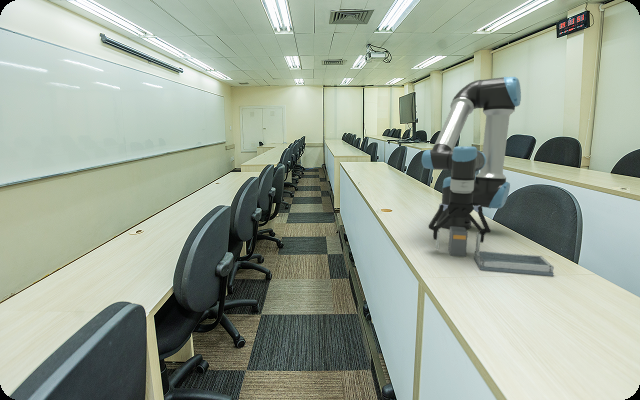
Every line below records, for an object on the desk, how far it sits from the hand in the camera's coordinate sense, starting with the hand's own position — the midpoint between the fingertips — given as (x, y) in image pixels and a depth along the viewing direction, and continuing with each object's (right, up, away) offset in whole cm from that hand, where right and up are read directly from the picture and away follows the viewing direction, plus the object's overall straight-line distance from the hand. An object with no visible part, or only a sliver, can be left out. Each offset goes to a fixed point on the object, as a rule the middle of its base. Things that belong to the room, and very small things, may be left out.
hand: (456, 249), depth 115 cm
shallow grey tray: (+12, -4, -12) cm, 17 cm away
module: (0, -1, 0) cm, 1 cm away
